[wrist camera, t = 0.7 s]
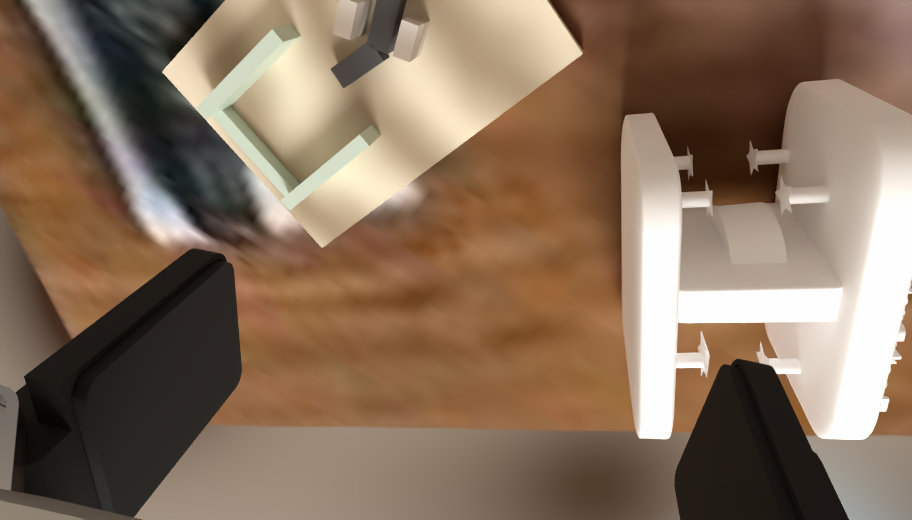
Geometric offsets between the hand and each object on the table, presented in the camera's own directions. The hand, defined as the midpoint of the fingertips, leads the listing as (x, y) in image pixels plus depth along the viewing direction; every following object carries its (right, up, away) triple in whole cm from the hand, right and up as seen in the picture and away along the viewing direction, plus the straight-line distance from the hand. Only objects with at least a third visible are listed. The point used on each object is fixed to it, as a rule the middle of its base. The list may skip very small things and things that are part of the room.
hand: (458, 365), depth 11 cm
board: (-5, +13, +22) cm, 26 cm away
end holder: (-9, +10, +23) cm, 27 cm away
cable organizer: (+15, +5, +23) cm, 28 cm away
